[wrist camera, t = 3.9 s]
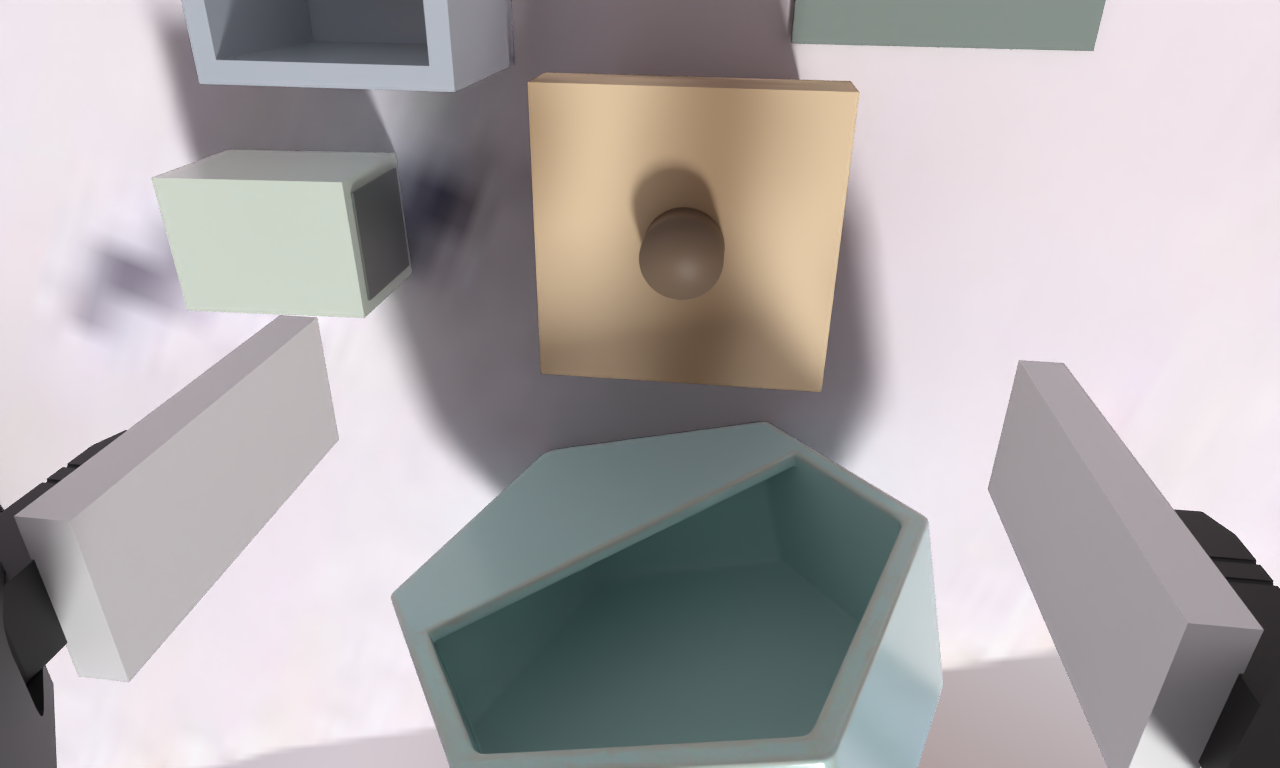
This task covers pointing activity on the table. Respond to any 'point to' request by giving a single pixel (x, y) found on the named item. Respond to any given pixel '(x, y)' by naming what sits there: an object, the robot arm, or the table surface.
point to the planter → (681, 613)
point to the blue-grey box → (350, 42)
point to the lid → (688, 225)
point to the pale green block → (286, 231)
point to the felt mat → (950, 23)
